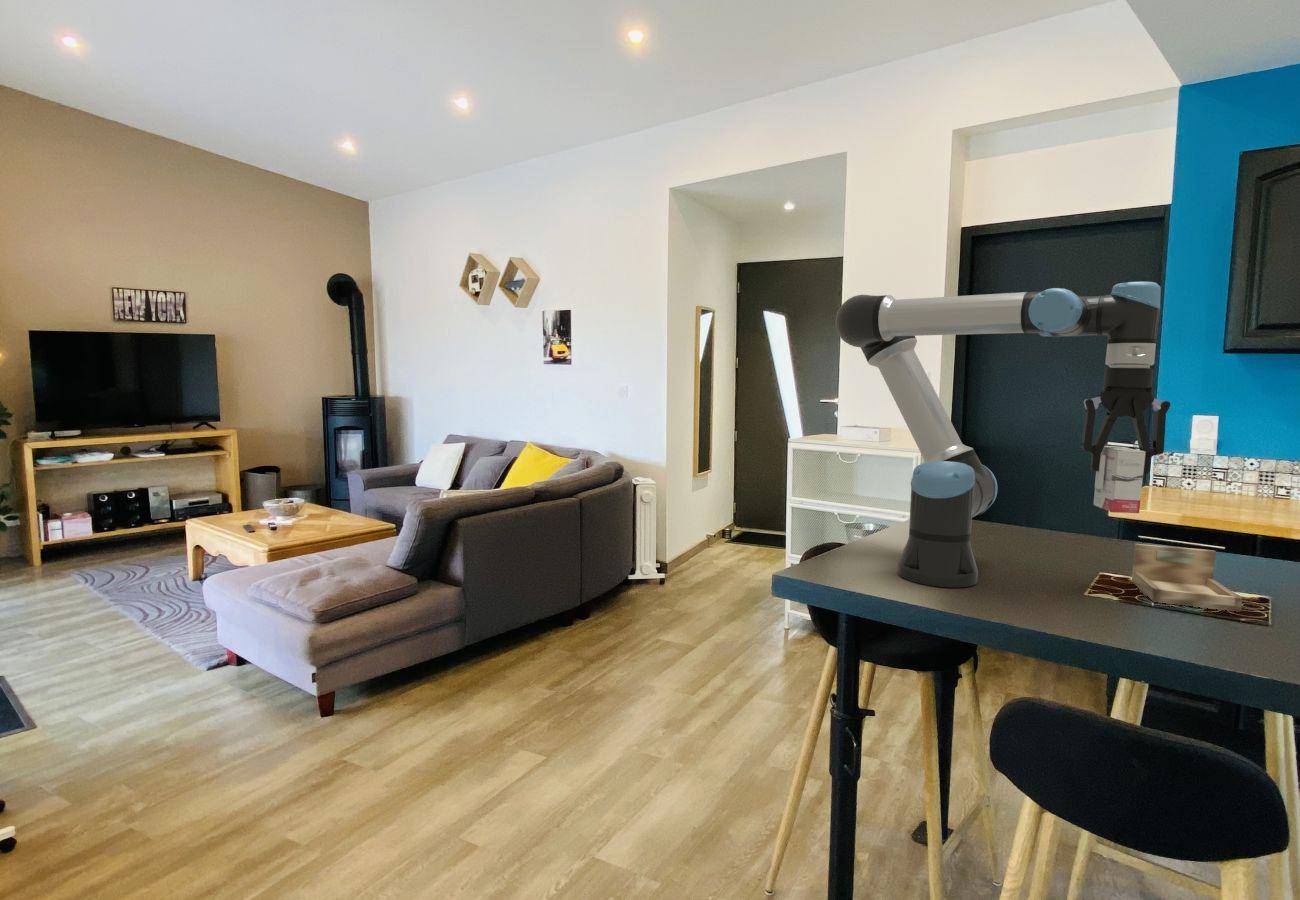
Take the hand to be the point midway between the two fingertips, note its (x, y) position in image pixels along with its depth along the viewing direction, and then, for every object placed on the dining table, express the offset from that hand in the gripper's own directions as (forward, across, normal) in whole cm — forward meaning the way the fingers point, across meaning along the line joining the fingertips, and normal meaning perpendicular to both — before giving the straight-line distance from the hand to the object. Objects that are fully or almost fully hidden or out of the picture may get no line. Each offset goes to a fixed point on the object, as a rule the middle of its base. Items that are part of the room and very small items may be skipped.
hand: (1117, 489), depth 130 cm
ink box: (+4, 0, 0) cm, 4 cm away
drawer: (+20, +13, +3) cm, 24 cm away
